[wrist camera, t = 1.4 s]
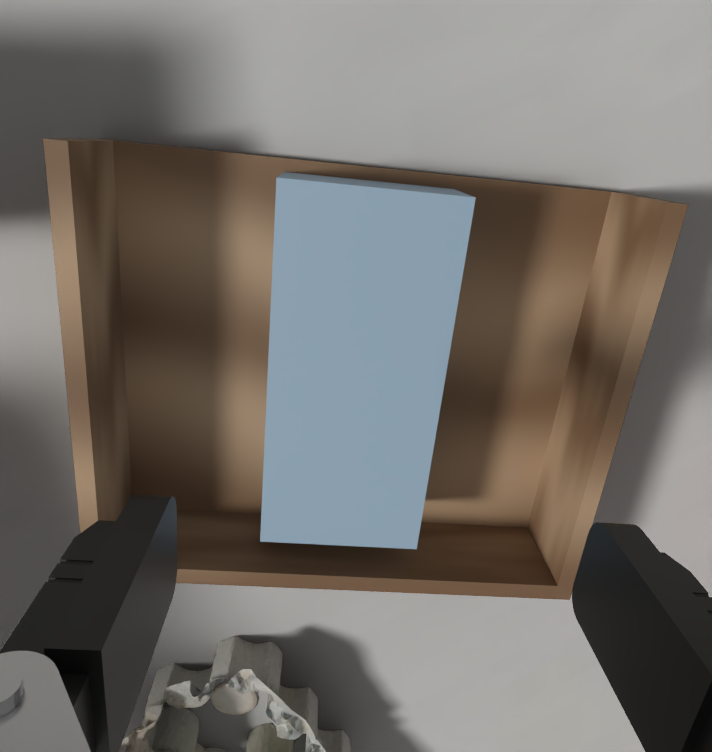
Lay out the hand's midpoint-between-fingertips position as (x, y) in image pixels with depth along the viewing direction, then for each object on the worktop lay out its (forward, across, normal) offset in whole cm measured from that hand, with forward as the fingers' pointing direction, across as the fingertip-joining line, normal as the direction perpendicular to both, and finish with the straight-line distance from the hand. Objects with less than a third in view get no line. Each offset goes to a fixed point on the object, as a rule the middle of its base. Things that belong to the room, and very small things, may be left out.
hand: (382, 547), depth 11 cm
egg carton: (+12, +3, +19) cm, 23 cm away
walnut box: (+11, 0, 0) cm, 11 cm away
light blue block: (+10, 0, 0) cm, 11 cm away
